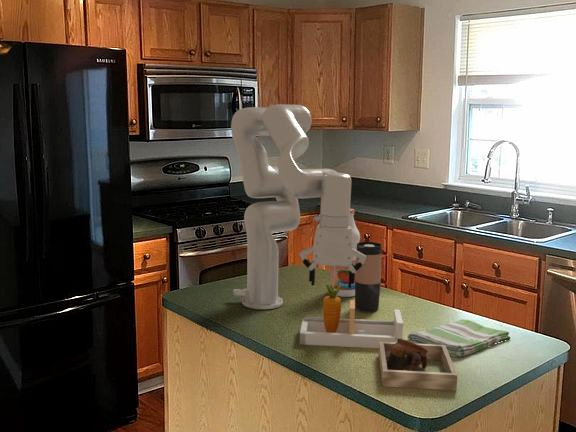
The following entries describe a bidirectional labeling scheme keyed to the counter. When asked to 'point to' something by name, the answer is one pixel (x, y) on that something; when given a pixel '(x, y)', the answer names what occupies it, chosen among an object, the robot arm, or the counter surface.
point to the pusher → (353, 319)
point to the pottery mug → (413, 356)
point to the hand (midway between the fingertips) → (331, 285)
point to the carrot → (331, 309)
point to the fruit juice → (342, 273)
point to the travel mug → (368, 277)
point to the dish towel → (460, 337)
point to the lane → (374, 333)
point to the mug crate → (417, 377)
